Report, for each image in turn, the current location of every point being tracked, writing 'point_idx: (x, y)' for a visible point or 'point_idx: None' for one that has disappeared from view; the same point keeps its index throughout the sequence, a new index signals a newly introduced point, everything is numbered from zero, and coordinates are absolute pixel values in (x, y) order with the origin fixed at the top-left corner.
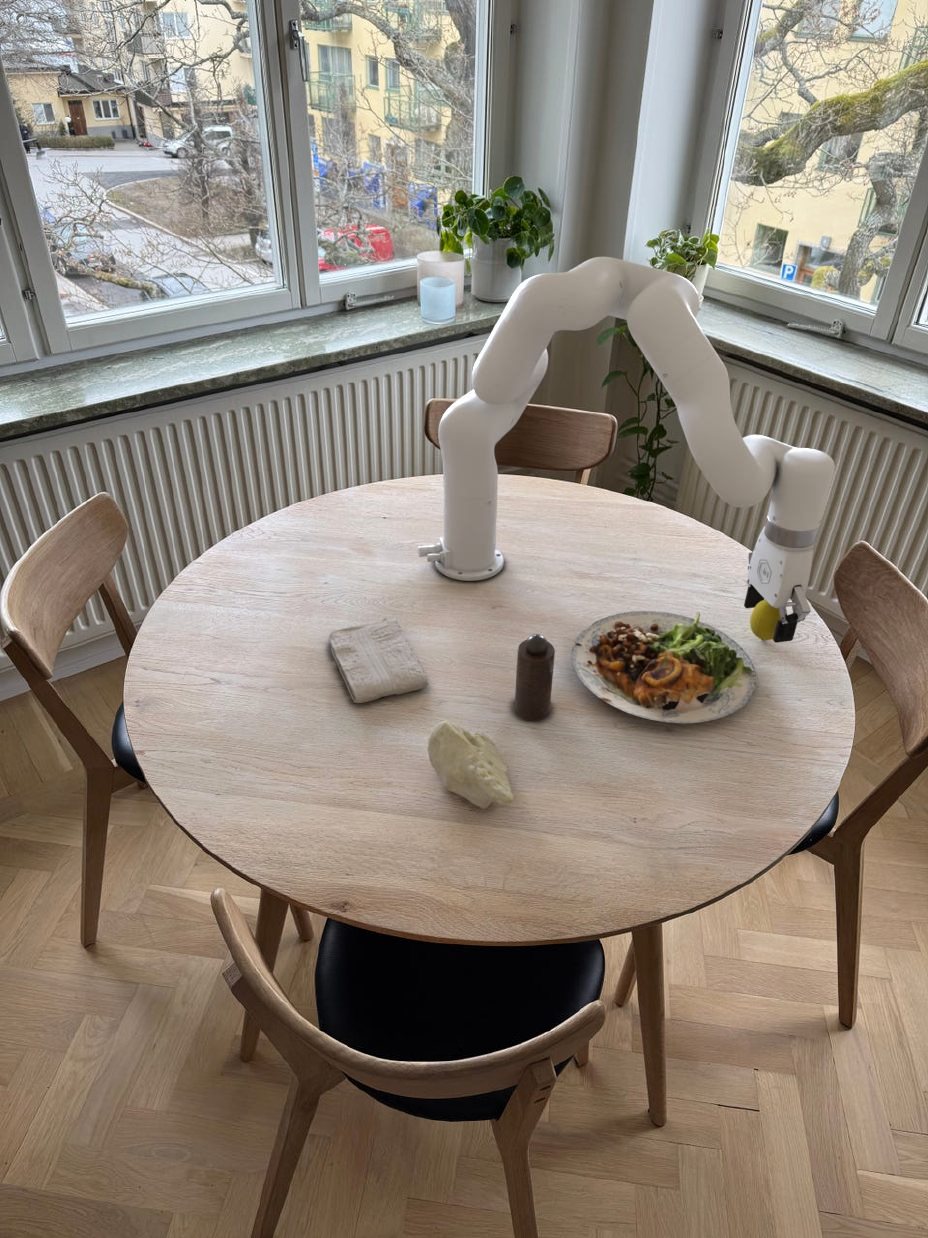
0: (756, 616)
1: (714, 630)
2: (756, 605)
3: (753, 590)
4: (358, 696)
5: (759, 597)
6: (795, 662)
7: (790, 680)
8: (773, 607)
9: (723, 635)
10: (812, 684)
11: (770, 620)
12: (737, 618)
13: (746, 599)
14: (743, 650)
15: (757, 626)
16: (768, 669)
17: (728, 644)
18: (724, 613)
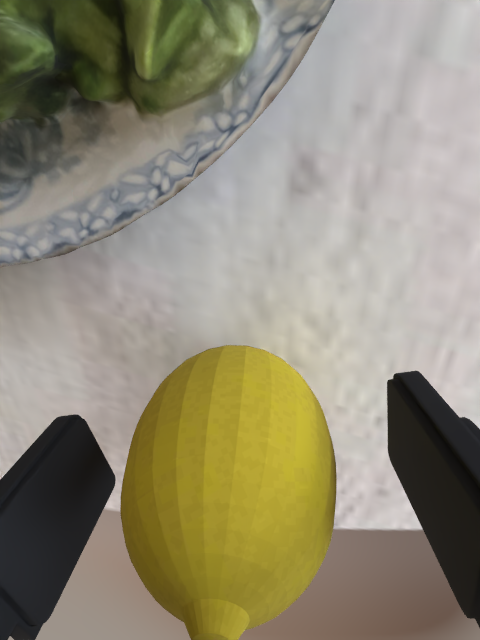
0: (186, 413)
1: (142, 66)
2: (272, 464)
3: (474, 527)
4: None
5: (421, 495)
6: (115, 427)
7: (8, 384)
8: (150, 580)
9: (178, 170)
10: (9, 435)
11: (124, 477)
12: (412, 316)
13: (434, 411)
14: (51, 254)
15: (167, 381)
16: (51, 334)
17: (104, 184)
18: (470, 267)
